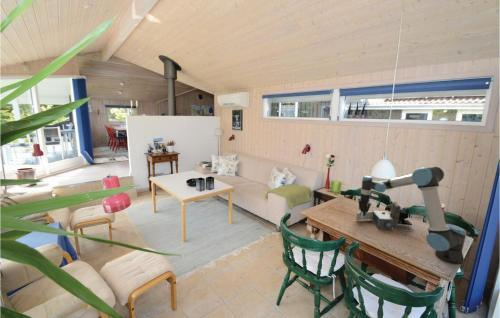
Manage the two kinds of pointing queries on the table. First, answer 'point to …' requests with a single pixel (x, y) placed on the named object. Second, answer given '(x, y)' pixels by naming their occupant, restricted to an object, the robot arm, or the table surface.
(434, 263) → the table surface
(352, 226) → the table surface
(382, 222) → the camera housing
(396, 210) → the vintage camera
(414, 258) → the table surface
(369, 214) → the side door
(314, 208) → the table surface
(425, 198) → the robot arm
